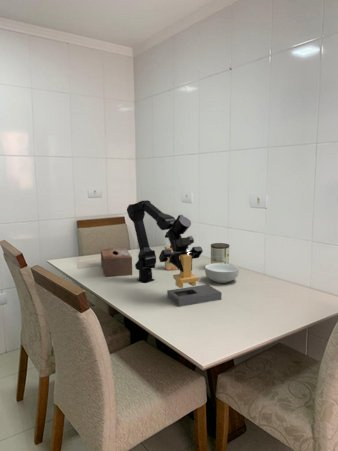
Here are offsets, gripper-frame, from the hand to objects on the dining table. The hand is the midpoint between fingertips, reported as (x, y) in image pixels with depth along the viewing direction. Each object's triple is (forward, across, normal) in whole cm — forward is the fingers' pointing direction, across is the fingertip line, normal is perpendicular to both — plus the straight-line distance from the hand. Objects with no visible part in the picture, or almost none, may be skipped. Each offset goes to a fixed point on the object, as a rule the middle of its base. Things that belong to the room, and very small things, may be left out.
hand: (187, 271), depth 148 cm
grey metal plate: (+8, +4, +10) cm, 14 cm away
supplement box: (-25, +15, +43) cm, 52 cm away
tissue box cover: (-33, -15, +52) cm, 63 cm away
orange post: (+4, 0, +6) cm, 7 cm away
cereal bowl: (-3, +28, +22) cm, 36 cm away
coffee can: (-16, +38, +35) cm, 54 cm away
